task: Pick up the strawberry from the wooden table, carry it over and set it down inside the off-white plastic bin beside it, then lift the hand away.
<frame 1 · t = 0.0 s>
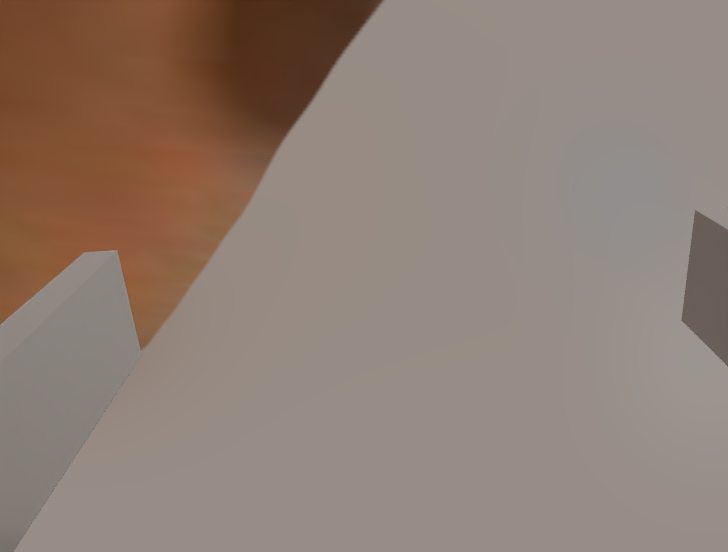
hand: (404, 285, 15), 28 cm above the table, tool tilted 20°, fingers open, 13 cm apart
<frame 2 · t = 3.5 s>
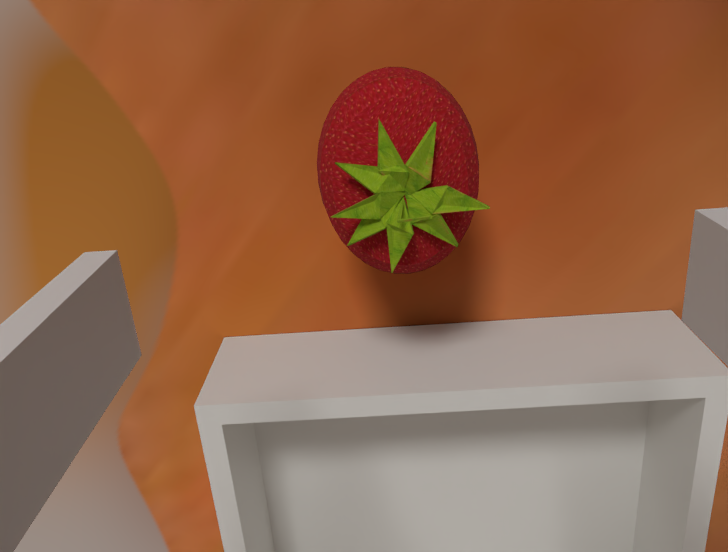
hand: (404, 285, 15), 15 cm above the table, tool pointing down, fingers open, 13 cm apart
bin: (449, 470, 36), on the table
strawberry: (393, 143, 29), on the table
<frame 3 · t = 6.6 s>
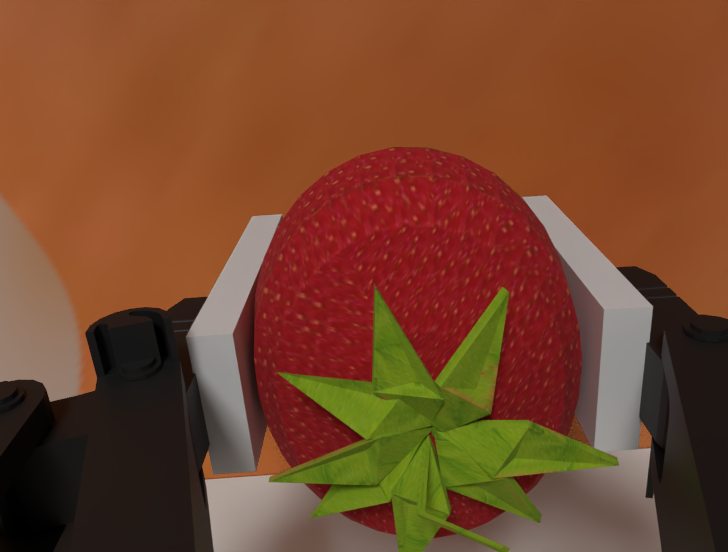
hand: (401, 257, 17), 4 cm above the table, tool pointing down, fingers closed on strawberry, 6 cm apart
strawberry: (401, 248, 17), point 3 cm above the table, touching gripper
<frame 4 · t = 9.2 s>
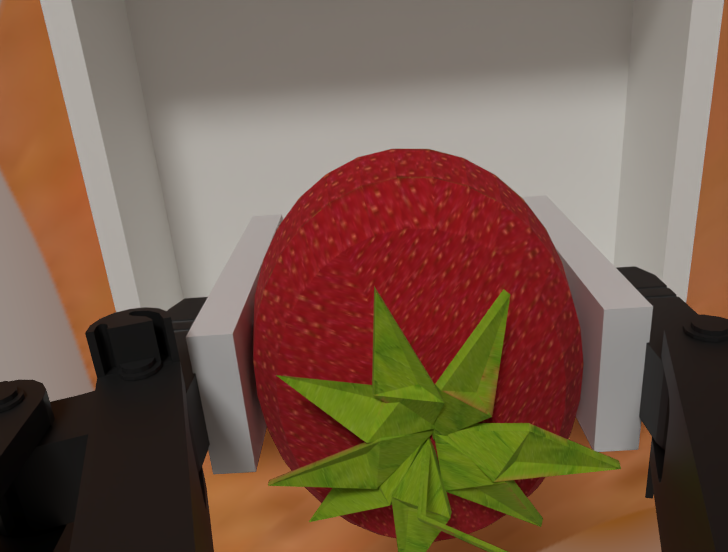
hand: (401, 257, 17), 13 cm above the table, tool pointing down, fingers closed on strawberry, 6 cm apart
bin: (387, 150, 29), on the table
strawberry: (401, 249, 17), point 13 cm above the table, touching gripper
when the fingers open (2 cm above the table, at t = 11.8 s): strawberry stays where it is, resting on bin.
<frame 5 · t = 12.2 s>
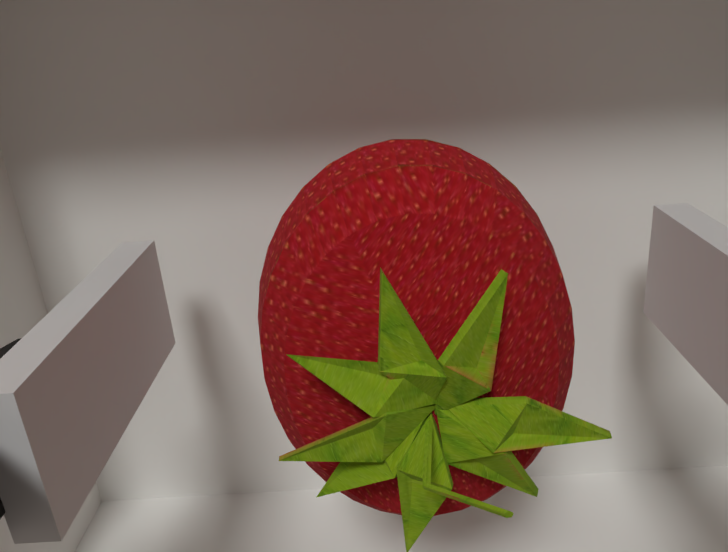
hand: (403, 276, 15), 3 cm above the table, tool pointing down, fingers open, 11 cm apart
bin: (397, 233, 18), on the table
strawberry: (394, 240, 18), point 1 cm above the table, touching bin
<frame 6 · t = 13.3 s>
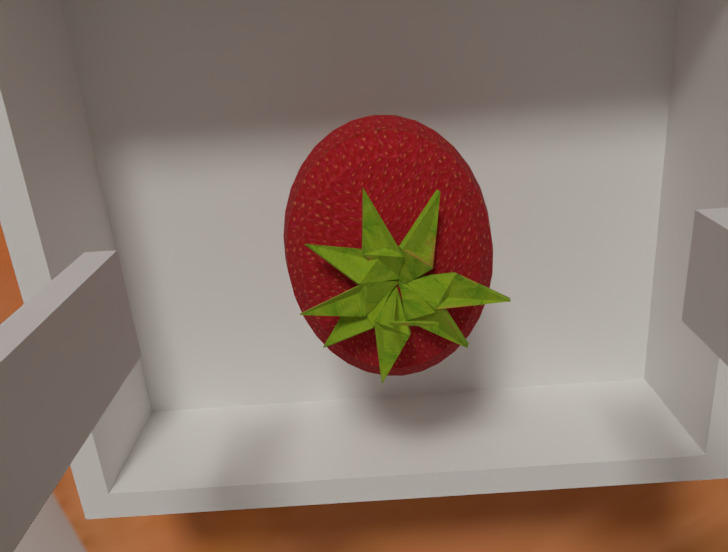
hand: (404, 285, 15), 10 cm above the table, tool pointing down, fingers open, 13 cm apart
bin: (382, 197, 24), on the table
strawberry: (380, 200, 24), point 1 cm above the table, touching bin
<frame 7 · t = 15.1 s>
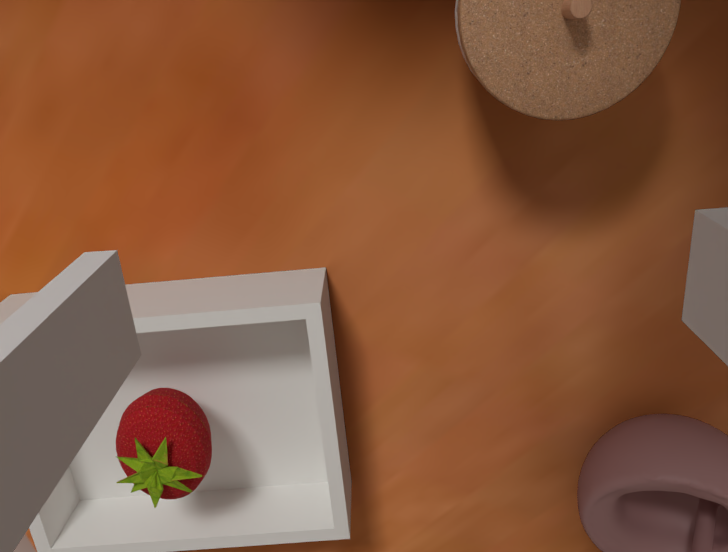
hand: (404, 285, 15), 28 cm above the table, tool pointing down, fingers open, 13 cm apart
bin: (191, 393, 48), on the table
lidded jar: (531, 11, 39), on the table
strawberry: (187, 398, 47), point 1 cm above the table, touching bin
mortar and pestle: (634, 448, 50), on the table
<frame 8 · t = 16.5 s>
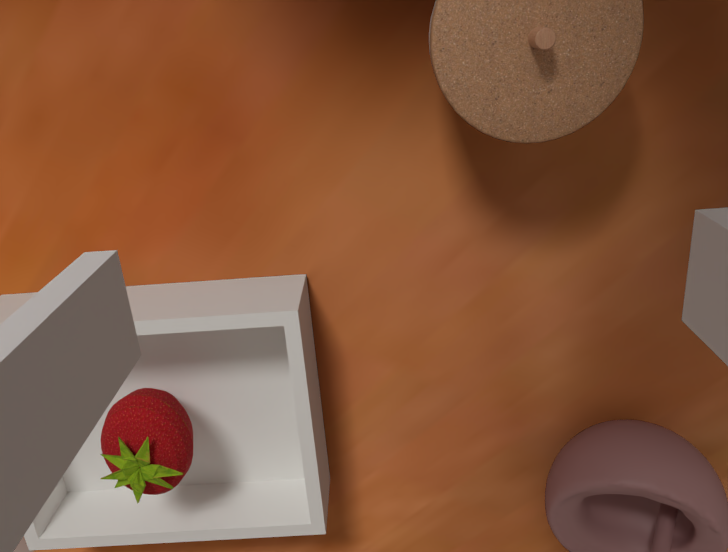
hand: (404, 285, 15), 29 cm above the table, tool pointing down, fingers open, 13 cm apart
bin: (176, 392, 50), on the table
lidded jar: (506, 32, 40), on the table
strawberry: (171, 397, 49), point 1 cm above the table, touching bin
mortar and pestle: (603, 451, 52), on the table
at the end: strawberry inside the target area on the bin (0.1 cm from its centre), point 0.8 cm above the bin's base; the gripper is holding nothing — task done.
